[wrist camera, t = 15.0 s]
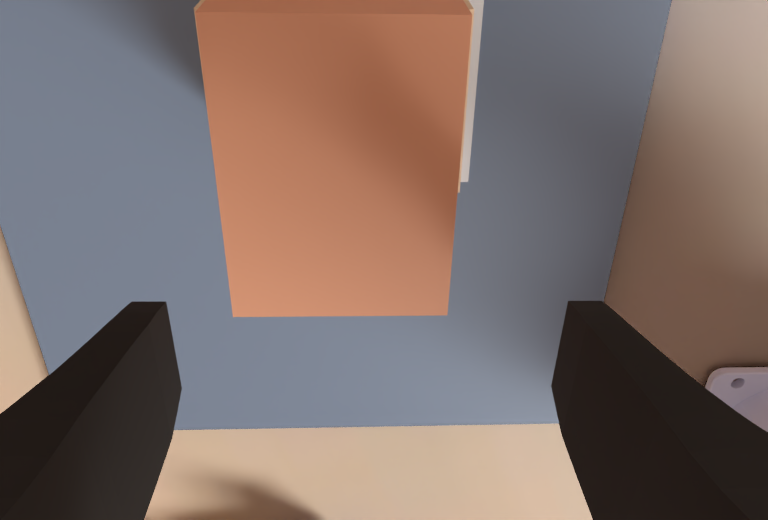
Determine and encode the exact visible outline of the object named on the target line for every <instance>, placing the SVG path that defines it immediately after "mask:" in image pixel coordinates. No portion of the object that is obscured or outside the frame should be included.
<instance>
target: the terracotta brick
mask: <svg viewBox="0 0 768 520" xmlns="http://www.w3.org/2000/svg"><path fill="white" fill-rule="evenodd" d="M195 16H196V24H197V32H198V40H199V48H200V56H201V64H202V72H203V80H204V88H205V96H206V104H207V112H208V120H209V128H210V136H211V144H212V153H213V161H214V169H215V177H216V185H217V193H218V201H219V209H220V217H221V225H222V233H223V241H224V249H225V257H226V265H227V273H228V281H229V289H230V297H231V305H232V313H233V317H308V316H439V315H447V314H448V302H449V290H450V278H451V266H452V254H453V242H454V230H455V218H456V206H457V194H458V182H459V170H460V158H461V146H462V134H463V121H464V109H465V97H466V85H467V73H468V61H469V49H470V37H471V25H472V13H471V12H470V10H469V9H468V7H467V5H466V4H465V2H464V1H463V0H205V1H204V2H203V3H202V5H201V6H200V7H199V8H198V9H197V10H196V12H195Z"/></svg>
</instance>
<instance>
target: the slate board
mask: <svg viewBox="0 0 768 520" xmlns="http://www.w3.org/2000/svg"><path fill="white" fill-rule="evenodd" d="M199 1H200V0H0V226H1V229H2V232H3V235H4V238H5V241H6V244H7V247H8V250H9V253H10V257H11V260H12V263H13V266H14V269H15V272H16V275H17V278H18V281H19V284H20V287H21V290H22V293H23V296H24V299H25V303H26V306H27V309H28V312H29V315H30V318H31V321H32V324H33V327H34V330H35V333H36V336H37V339H38V342H39V345H40V348H41V352H42V355H43V358H44V361H45V364H46V367H47V370H48V373H49V375H50V374H51V373H52V372H53V371H55V370H56V369H57V368H58V367H59V366H60V365H62V364H63V363H64V362H65V361H66V360H67V359H68V358H69V357H71V356H72V355H73V354H74V353H75V352H76V351H77V350H78V349H80V348H81V347H82V346H83V345H84V344H85V343H86V342H87V341H89V340H90V339H91V338H92V337H93V336H94V335H95V334H96V333H97V332H98V331H99V330H101V329H102V328H103V327H104V326H105V325H106V324H107V323H108V322H109V321H110V320H111V319H112V318H114V317H115V316H116V315H117V314H118V313H119V312H120V311H121V310H122V309H124V308H125V307H126V306H127V305H128V304H129V303H131V302H157V301H166V303H167V308H168V314H169V320H170V325H171V331H172V336H173V342H174V347H175V353H176V358H177V364H178V369H179V375H180V380H181V386H182V391H181V396H180V401H179V406H178V412H177V417H176V421H175V426H174V430H204V429H262V428H319V427H377V426H435V425H493V424H551V423H559V420H558V416H557V412H556V407H555V402H554V397H553V393H552V388H551V384H552V379H553V374H554V369H555V364H556V359H557V354H558V349H559V344H560V339H561V334H562V329H563V324H564V319H565V314H566V309H567V304H568V301H602V302H604V298H605V294H606V289H607V285H608V280H609V276H610V271H611V267H612V263H613V258H614V254H615V249H616V245H617V240H618V236H619V232H620V227H621V223H622V218H623V214H624V209H625V205H626V201H627V196H628V192H629V187H630V183H631V178H632V174H633V170H634V165H635V161H636V156H637V152H638V147H639V143H640V139H641V134H642V130H643V125H644V121H645V116H646V112H647V108H648V103H649V99H650V94H651V90H652V85H653V81H654V77H655V72H656V68H657V63H658V59H659V54H660V50H661V46H662V41H663V37H664V32H665V28H666V23H667V19H668V14H669V10H670V6H671V1H672V0H468V1H469V2H470V4H471V5H472V7H473V8H474V20H473V32H472V45H471V57H470V70H469V82H468V95H467V107H466V120H465V132H464V145H463V157H462V170H461V182H460V193H458V194H457V206H456V218H455V230H454V242H453V254H452V266H451V278H450V290H449V302H448V314H447V315H439V316H308V317H233V313H232V305H231V297H230V289H229V281H228V273H227V265H226V257H225V249H224V241H223V233H222V225H221V217H220V209H219V201H218V193H217V185H216V177H215V169H214V161H213V153H212V145H211V137H210V130H209V122H208V114H207V106H206V99H205V91H204V83H203V75H202V68H201V60H200V52H199V44H198V37H197V29H196V21H195V13H194V7H195V6H196V5H197V4H198V3H199Z"/></svg>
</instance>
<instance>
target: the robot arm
mask: <svg viewBox="0 0 768 520" xmlns="http://www.w3.org/2000/svg"><path fill="white" fill-rule="evenodd" d="M735 379H737V380H735ZM733 380H735V381H733ZM551 388H552V393H553V397H554V402H555V407H556V412H557V416H558V420H559V425H560V429H561V433H562V437H563V439H564V442H565V445H566V448H567V451H568V453H569V456H570V459H571V462H572V464H573V467H574V470H575V473H576V475H577V478H578V481H579V483H580V486H581V489H582V491H583V494H584V497H585V499H586V502H587V505H588V507H589V510H590V513H591V515H592V518H593V520H768V367H733V368H719V369H717V370H715V371H713V372H712V373H711V374H710V376H709V378H708V380H707V383H706V386H705V387H703V386H702V385H701V384H699V383H698V382H697V381H696V380H694V379H693V378H692V377H691V376H689V375H688V374H687V373H686V372H684V371H683V370H682V369H681V368H679V367H678V366H677V365H676V364H675V363H673V362H672V361H671V360H670V359H669V358H668V357H666V356H665V355H664V354H663V353H662V352H660V351H659V350H658V349H657V348H656V347H655V346H653V345H652V344H651V343H650V342H649V341H648V340H647V339H645V338H644V337H643V336H642V335H641V334H640V333H639V332H637V331H636V330H635V329H634V328H633V327H632V326H631V325H629V324H628V323H627V322H626V321H625V320H624V319H623V318H621V317H620V316H619V315H618V314H617V313H616V312H615V311H613V310H612V309H611V308H610V307H609V306H607V305H606V304H605V303H604V302H602V301H568V304H567V309H566V314H565V319H564V324H563V329H562V334H561V339H560V344H559V349H558V354H557V359H556V364H555V369H554V374H553V379H552V384H551ZM181 391H182V386H181V380H180V375H179V369H178V364H177V358H176V353H175V347H174V342H173V336H172V331H171V325H170V320H169V314H168V308H167V303H166V301H157V302H131V303H129V304H128V305H127V306H126V307H125V308H124V309H122V310H121V311H120V312H119V313H118V314H117V315H116V316H115V317H114V318H112V319H111V320H110V321H109V322H108V323H107V324H106V325H105V326H104V327H103V328H102V329H101V330H99V331H98V332H97V333H96V334H95V335H94V336H93V337H92V338H91V339H90V340H89V341H87V342H86V343H85V344H84V345H83V346H82V347H81V348H80V349H78V350H77V351H76V352H75V353H74V354H73V355H72V356H71V357H69V358H68V359H67V360H66V361H65V362H64V363H63V364H62V365H60V366H59V367H58V368H57V369H56V370H55V371H53V372H52V373H51V374H50V375H49V376H47V377H46V378H45V379H44V380H42V381H41V382H40V383H39V384H37V385H36V386H35V387H34V388H32V389H31V390H30V391H29V392H27V393H26V394H25V395H24V396H23V397H21V398H20V399H19V400H18V401H16V402H15V403H14V404H13V405H11V406H10V407H9V408H8V409H6V410H5V411H4V412H2V413H1V414H0V520H144V518H145V515H146V512H147V509H148V506H149V504H150V501H151V498H152V495H153V492H154V489H155V486H156V484H157V481H158V478H159V475H160V472H161V469H162V466H163V463H164V460H165V457H166V455H167V452H168V449H169V446H170V443H171V439H172V435H173V431H174V426H175V421H176V417H177V412H178V406H179V401H180V396H181Z"/></svg>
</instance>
